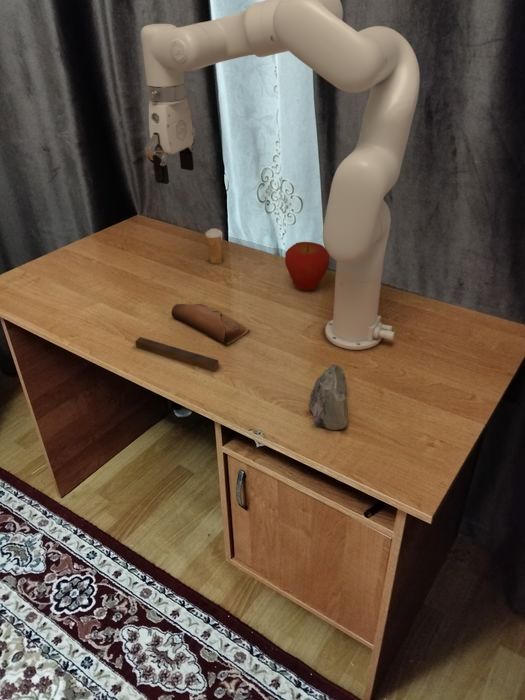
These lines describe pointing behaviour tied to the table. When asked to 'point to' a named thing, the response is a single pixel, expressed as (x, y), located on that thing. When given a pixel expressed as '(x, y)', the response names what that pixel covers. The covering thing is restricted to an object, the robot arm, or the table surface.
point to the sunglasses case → (210, 321)
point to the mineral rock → (330, 399)
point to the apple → (307, 264)
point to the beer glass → (214, 245)
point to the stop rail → (177, 354)
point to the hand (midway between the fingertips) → (175, 175)
